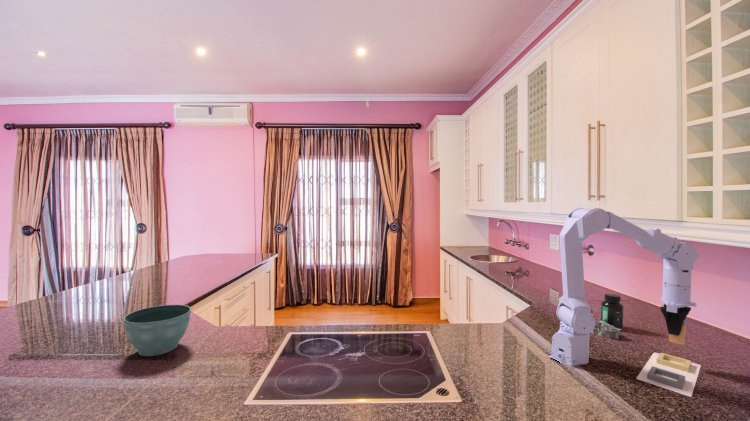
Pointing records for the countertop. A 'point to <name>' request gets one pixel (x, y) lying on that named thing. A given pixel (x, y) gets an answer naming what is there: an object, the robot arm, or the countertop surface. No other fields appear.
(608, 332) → the egg carton
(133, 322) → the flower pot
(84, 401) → the countertop surface
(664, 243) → the robot arm
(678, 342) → the peg
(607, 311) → the supplement bottle
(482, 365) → the countertop surface
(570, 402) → the countertop surface
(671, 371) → the socket board
